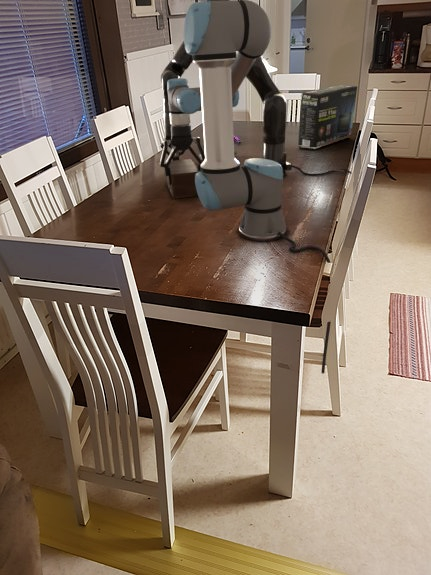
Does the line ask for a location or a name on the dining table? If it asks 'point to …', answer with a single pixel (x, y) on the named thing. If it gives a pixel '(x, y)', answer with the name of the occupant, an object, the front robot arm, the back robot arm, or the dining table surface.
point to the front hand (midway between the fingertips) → (184, 182)
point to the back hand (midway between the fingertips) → (176, 165)
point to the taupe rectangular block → (182, 179)
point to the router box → (326, 115)
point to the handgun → (237, 139)
